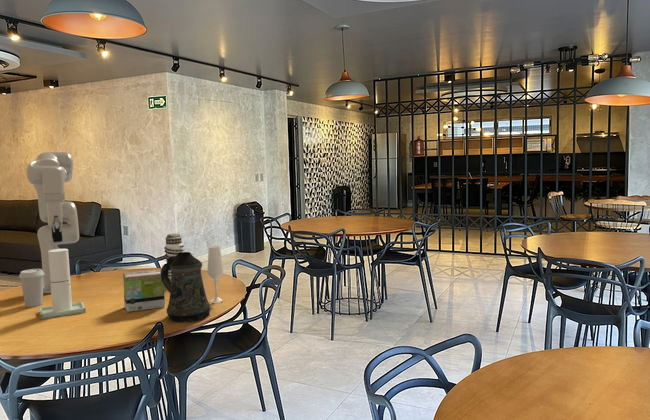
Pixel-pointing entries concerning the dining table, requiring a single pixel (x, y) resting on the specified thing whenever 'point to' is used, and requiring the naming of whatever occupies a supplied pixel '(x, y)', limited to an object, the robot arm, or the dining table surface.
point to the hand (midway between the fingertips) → (57, 239)
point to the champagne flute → (215, 267)
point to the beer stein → (185, 288)
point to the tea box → (143, 290)
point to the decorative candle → (173, 247)
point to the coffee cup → (32, 287)
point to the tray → (48, 311)
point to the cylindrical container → (60, 280)
